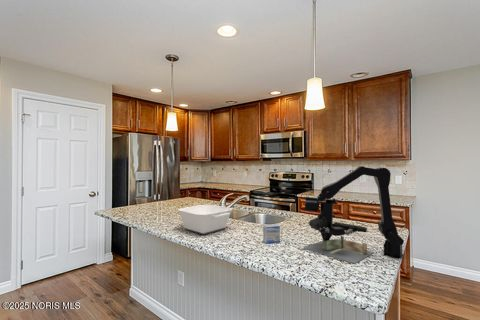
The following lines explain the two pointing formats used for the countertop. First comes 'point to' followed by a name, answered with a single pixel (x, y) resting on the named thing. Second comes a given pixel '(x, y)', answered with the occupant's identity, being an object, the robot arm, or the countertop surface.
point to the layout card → (338, 253)
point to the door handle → (350, 227)
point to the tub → (205, 218)
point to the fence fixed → (354, 246)
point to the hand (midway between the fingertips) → (325, 244)
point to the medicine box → (271, 234)
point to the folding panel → (331, 244)
